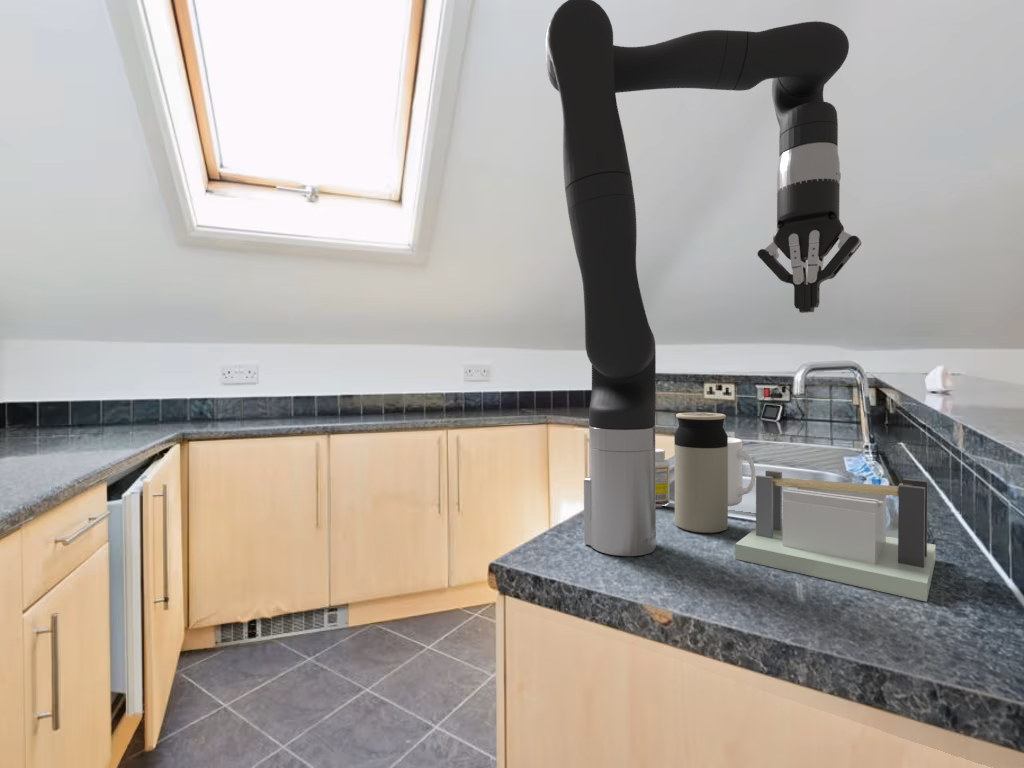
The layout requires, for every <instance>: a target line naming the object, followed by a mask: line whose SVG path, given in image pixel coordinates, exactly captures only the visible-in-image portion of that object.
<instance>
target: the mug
mask: <svg viewBox="0 0 1024 768" xmlns="http://www.w3.org/2000/svg"><path fill="white" fill-rule="evenodd" d="M743 444H744V443H743V440H742V439H741V438H737V437H736V438H735V437H730V436H729V437H728V507H733V506H738V505H739V504H741V503H742V500H743V496H744V495H747V494H749V493H751V491H753V489H754V487H755V485H756V468H755V467H756V465H755V463H754V461H753V459H752V457H751V456H750V455H749V454H748V453H747V452H746V451H745V450H743V446H744V445H743ZM743 460H746V461H747V462H748V464H749V467H750V472H751V473H750V474H751V475H750V476H751V478H750V482H749V484H748V486H746V487H745V488H743V487H744V486H743V478H744V477H743V476H744V475H743Z"/></svg>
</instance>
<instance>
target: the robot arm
mask: <svg viewBox="0 0 1024 768" xmlns="http://www.w3.org/2000/svg"><path fill="white" fill-rule="evenodd" d="M849 48H850V43H849V39H848V36H847V34H846V33H845V32H844V30H842V28H840V27H838V26H837V25H835V24H833V23H829V22H826V21H815V20H814V21H805V22H799V23H794V24H787V25H782V26H778V27H773V28H772V27H771V28H769V29H766V30H761V31H750V30H749V31H747V30H746V31H745V30H728V29H727V30H726V29H711V30H701V31H696V32H692V33H687V34H685V35H681V36H678V37H676V38H675V37H674V38H672V39H668V40H665V41H661V42H658V43H653V44H650V45H649V44H647V45H644V46H620V45H616V44H615V45H614V31H613V25H612V23H611V20H610V17H609V15H608V14H607V13H606V10H605V9H604V8H603V7H602V6H601V4H599V3H597V2H596V1H595V0H566V1H565V2H563V3H562V4H561V5H559V7H558V8H557V9H556V11H555V12H554V14H553V15H552V17H551V19H550V21H549V24H548V27H547V31H546V36H545V59H546V72H547V77H548V79H549V82H550V84H551V86H552V87H553V88H554V89H555V90H556V91H557V92H559V93H558V94H559V96H560V103H561V110H562V111H561V112H562V165H563V179H564V181H563V182H564V190H565V191H564V192H565V198H566V205H567V212H568V213H567V214H568V218H569V224H570V231H571V235H572V241H573V245H574V249H575V254H576V257H577V263H578V266H579V270H580V274H581V280H582V287H583V288H582V289H583V304H584V305H583V307H584V339H585V340H584V342H585V343H584V345H585V346H584V347H585V350H586V355H587V358H588V360H589V362H590V364H591V394H590V401H589V409H588V425H589V426H588V427H589V428H588V432H589V433H588V435H589V437H588V438H589V439H588V444H589V445H588V446H589V451H588V453H589V476H587V477H585V478H584V479H583V541H584V542H583V543H584V544H585V545H587V546H590V547H591V548H593V549H594V550H596V551H597V552H600V553H603V554H606V555H611V556H618V557H620V556H621V557H636V556H645V555H647V554H651V553H653V552H654V551H656V548H657V545H656V544H657V538H656V537H657V529H656V520H657V518H656V517H657V516H656V514H657V510H656V509H657V507H656V476H655V449H656V408H657V407H656V404H657V403H656V402H657V398H656V397H657V395H656V393H657V391H656V388H657V387H656V379H657V378H656V375H657V374H656V372H657V371H656V366H657V365H656V359H657V357H656V351H657V350H656V340H655V337H654V333H653V332H652V329H651V327H650V324H649V319H648V317H647V313H646V310H645V305H644V301H643V297H642V293H641V289H640V283H639V279H638V273H637V271H638V270H637V233H638V232H637V212H636V211H637V210H636V201H635V194H634V187H633V180H632V172H631V168H630V167H631V166H630V161H629V158H628V157H629V156H628V151H627V147H626V141H625V136H624V131H623V125H622V121H621V117H620V112H619V108H618V104H617V97H616V93H618V94H619V93H629V92H638V91H648V90H649V91H650V90H662V89H663V90H665V89H666V90H667V89H700V90H701V89H704V90H716V91H717V90H718V91H719V90H720V91H736V92H737V91H738V92H739V91H749V90H751V89H753V88H755V87H756V86H758V85H759V84H760V83H762V82H764V81H766V80H771V79H772V84H771V97H772V103H773V107H774V111H775V115H776V120H777V122H778V126H779V139H778V141H779V144H778V145H779V146H778V147H779V148H778V149H779V150H778V151H779V152H778V154H779V155H778V156H779V159H778V166H777V174H776V175H777V177H776V178H777V179H776V184H777V185H776V192H777V193H776V231H775V233H774V234H773V237H772V242H771V243H770V244H769V245H768V246H766V247H765V248H764V249H763V248H761V249H759V250H758V251H757V257H758V258H759V259H760V260H761V261H762V262H763V263H764V264H765V265H766V266H767V267H768V268H769V270H771V272H772V273H773V274H774V275H775V276H776V277H777V278H778V279H779V281H780V282H784V283H785V284H791V285H793V288H794V289H793V290H794V291H793V296H794V297H793V301H794V302H793V305H794V308H795V309H796V310H798V311H799V313H802V314H803V313H804V314H807V313H814V312H815V309H817V308H819V307H820V288H821V287H820V286H821V284H822V283H823V282H824V281H828V280H832V279H834V278H835V277H836V276H837V275H838V273H840V271H841V270H842V269H843V267H844V266H845V265H846V264H847V262H849V260H850V258H852V256H853V255H854V254H855V253H856V252H857V250H858V249H859V248H860V247H861V246H862V241H861V238H859V237H858V236H856V235H851V234H850V233H847V232H846V231H845V228H844V226H843V225H844V224H842V223H841V219H840V191H841V190H840V187H841V185H840V184H841V183H840V181H841V177H842V175H841V174H842V173H841V171H840V170H841V169H840V168H841V166H840V157H839V149H838V148H839V147H838V145H839V144H838V143H839V142H838V141H839V139H838V138H839V137H838V135H839V134H838V133H839V129H838V128H839V127H838V126H839V125H838V122H839V121H838V112H837V109H836V107H835V106H834V105H833V104H832V103H830V102H828V101H824V87H825V85H826V84H827V83H828V82H829V81H830V80H831V79H832V78H833V76H834V75H835V74H836V73H837V72H838V71H839V70H840V68H841V67H842V66H843V65H844V63H845V61H846V60H847V57H848V55H849V50H850V49H849ZM838 241H839V242H838ZM837 242H838V243H837ZM836 244H837V248H838V251H836V253H835V254H834V255H833V257H832V258H831V259H830V261H829V262H828V263H827V264H826V266H824V258H825V257H826V256H828V255H829V253H830V252H831V250H832V249H833V247H834V246H835V245H836ZM778 250H780V251H781V252H782V253H783V255H784V256H785V257H786V258H787V259H788V260H789V261H790V265H791V266H790V267H791V271H792V274H791V273H790V272H789V270H787V269H786V268H785V267H784V266H783V264H781V262H780V261H779V260H778V258H780V254H779V252H778Z"/></svg>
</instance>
